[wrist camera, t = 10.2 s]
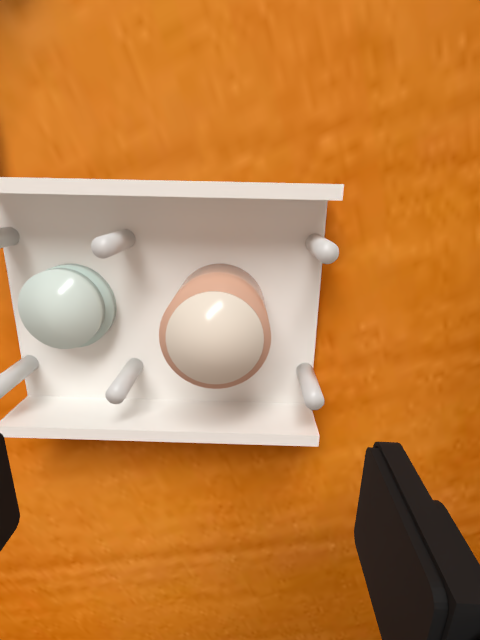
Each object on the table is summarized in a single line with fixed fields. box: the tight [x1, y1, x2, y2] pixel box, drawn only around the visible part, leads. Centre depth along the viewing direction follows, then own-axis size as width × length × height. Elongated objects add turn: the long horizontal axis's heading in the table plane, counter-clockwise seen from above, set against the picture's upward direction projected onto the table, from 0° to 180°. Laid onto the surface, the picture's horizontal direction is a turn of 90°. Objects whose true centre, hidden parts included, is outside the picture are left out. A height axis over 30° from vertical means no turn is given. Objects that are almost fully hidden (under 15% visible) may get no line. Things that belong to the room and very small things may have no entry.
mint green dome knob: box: [18, 264, 116, 349], centre depth 26 cm, size 6×6×2 cm
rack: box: [0, 177, 344, 447], centre depth 25 cm, size 21×16×6 cm
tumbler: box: [159, 264, 271, 389], centre depth 23 cm, size 6×6×6 cm
